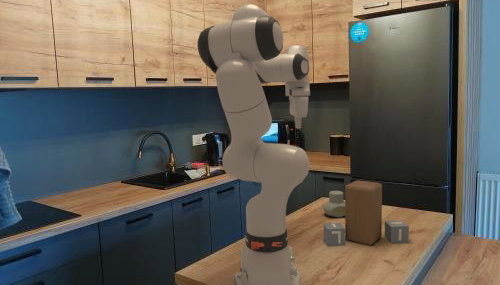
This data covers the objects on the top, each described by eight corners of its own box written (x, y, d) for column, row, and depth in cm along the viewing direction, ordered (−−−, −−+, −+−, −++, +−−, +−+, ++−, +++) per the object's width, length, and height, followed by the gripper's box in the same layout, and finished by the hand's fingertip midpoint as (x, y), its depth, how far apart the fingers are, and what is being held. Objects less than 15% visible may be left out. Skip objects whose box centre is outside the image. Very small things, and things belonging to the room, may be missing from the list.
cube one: (408, 243, 131) (409, 225, 131) (391, 243, 131) (391, 226, 130) (401, 236, 138) (401, 219, 137) (384, 237, 137) (384, 220, 137)
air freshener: (344, 211, 168) (344, 189, 167) (352, 217, 160) (352, 193, 158) (320, 213, 166) (320, 190, 165) (327, 219, 158) (327, 195, 157)
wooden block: (356, 231, 143) (356, 179, 141) (382, 237, 137) (383, 182, 134) (344, 240, 136) (344, 185, 133) (371, 246, 129) (372, 188, 127)
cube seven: (344, 245, 131) (344, 228, 130) (327, 246, 131) (327, 228, 130) (340, 238, 137) (340, 222, 136) (323, 239, 137) (323, 222, 136)
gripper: (285, 91, 151) (286, 126, 153) (292, 91, 131) (293, 131, 133) (301, 90, 151) (302, 125, 153) (310, 90, 131) (311, 130, 133)
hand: (298, 128), depth 143 cm, fingers closed
